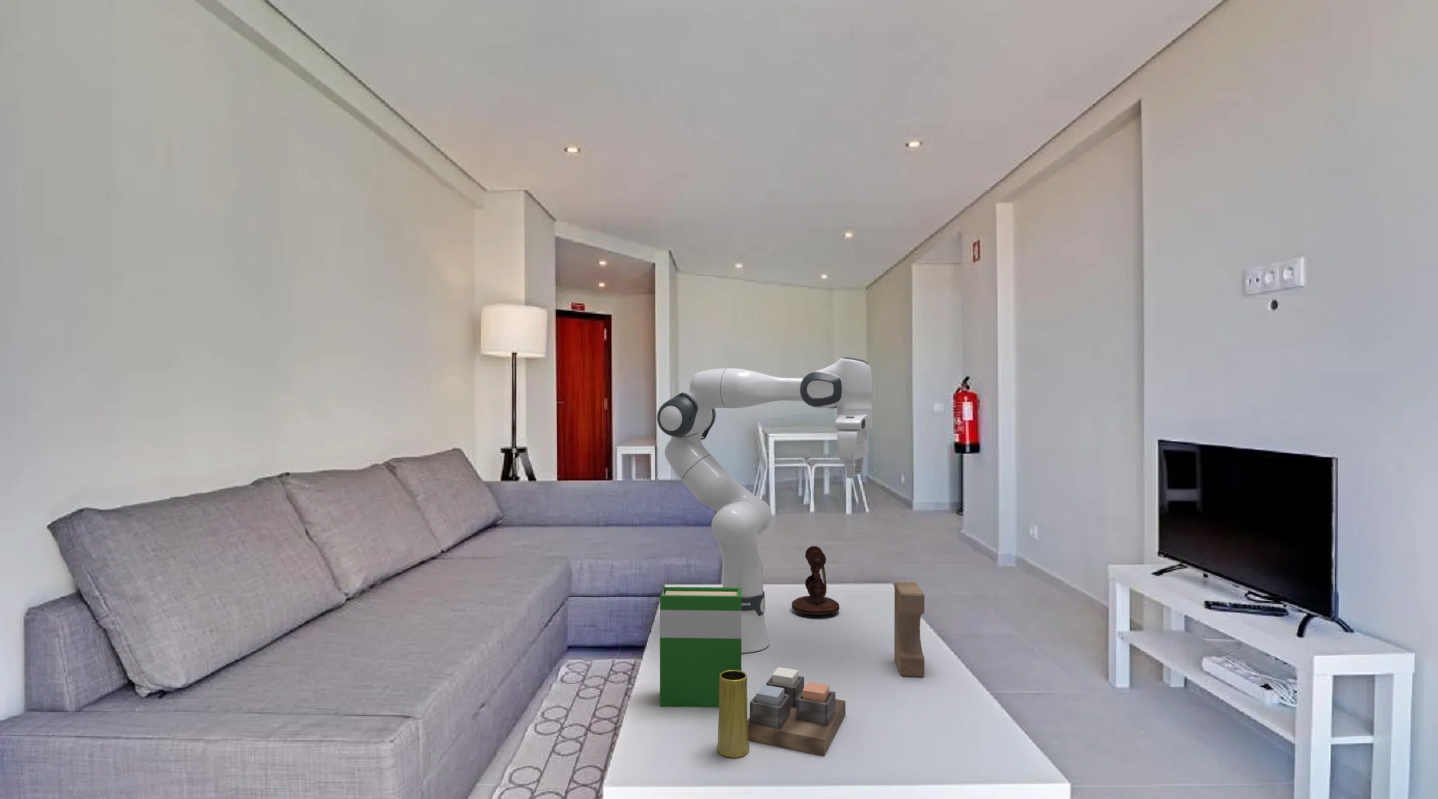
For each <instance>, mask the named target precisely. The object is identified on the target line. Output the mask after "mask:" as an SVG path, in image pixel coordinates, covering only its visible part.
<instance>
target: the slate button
mask: <svg viewBox="0 0 1438 799" xmlns="http://www.w3.org/2000/svg"><path fill="white" fill-rule="evenodd" d="M755 696H756V702H757V703H762V704H768V705H773V706H780V704H781V703H782V702H783V700H784V688H779V687H774V686H768V685H766V684H763V685H762V686H761V687H760V688H759V689H758V691H757V692H756V694H755Z"/></svg>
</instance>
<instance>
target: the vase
mask: <svg viewBox="0 0 1438 799" xmlns="http://www.w3.org/2000/svg"><path fill="white" fill-rule="evenodd" d="M717 724H718V725H717V727H718V728H717V745H716V750H717V752H718V753H719V754H720V755H721V756H723V757H726V758H729V759H730V758H731V759H736V758H737V759H738V758H742V757H744V756H746V755H747V754H748V753H749V751H750V740H748V675H747V673H746V672H744V671H742V670H741V671H739V670H727V671H723V672H722V673H720V676H719V708H718V723H717Z"/></svg>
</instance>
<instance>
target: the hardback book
mask: <svg viewBox="0 0 1438 799" xmlns="http://www.w3.org/2000/svg"><path fill="white" fill-rule="evenodd" d="M662 592H663V593H662V594H660V595H659V707H661V708H663V707H664V708H713V709H717V708H718V709H719V676H720V673H722V672H723V671H727V670H739V671H742V653H741V588H737V587H723V586H721V587H719V586H718V587H717V586H714V587H713V586H712V587H711V586H708V587H707V586H663V591H662Z"/></svg>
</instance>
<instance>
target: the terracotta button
mask: <svg viewBox="0 0 1438 799" xmlns="http://www.w3.org/2000/svg"><path fill="white" fill-rule="evenodd" d="M829 691H830V685H829V684H823V683H819V682H810V681H808V682H807V683H806V684H805V685H804V689H803V690H802V699H805V700H811V701H816V702H822V703H826V702H827V700H828V698H829Z"/></svg>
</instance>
